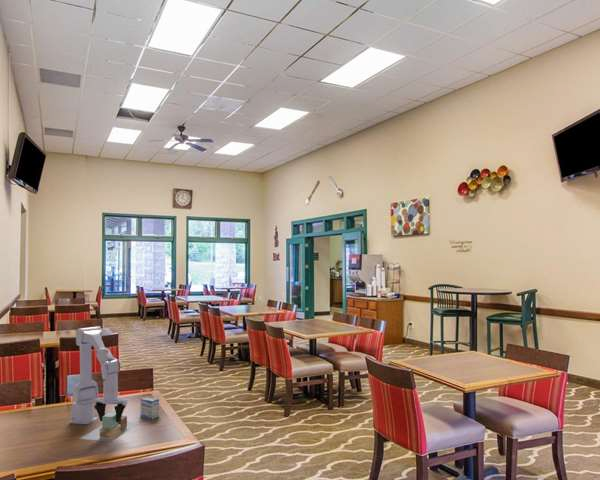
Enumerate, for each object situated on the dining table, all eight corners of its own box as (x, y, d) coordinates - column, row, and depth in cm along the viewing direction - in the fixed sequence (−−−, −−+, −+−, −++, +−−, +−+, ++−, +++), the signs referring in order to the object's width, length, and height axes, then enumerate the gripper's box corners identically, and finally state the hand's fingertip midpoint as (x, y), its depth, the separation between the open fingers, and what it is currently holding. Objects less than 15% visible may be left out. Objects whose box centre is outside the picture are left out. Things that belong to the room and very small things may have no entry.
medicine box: (140, 417, 220) (140, 399, 220) (147, 414, 223) (147, 396, 224) (152, 420, 216) (152, 401, 216) (159, 417, 220) (159, 398, 220)
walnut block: (111, 430, 202) (111, 419, 202) (117, 426, 206) (117, 415, 206) (121, 431, 201) (121, 419, 201) (126, 427, 206) (126, 416, 206)
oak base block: (99, 437, 195) (99, 428, 195) (108, 431, 201) (108, 423, 201) (112, 438, 194) (112, 429, 194) (120, 432, 199) (120, 424, 200)
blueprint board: (79, 439, 193) (79, 438, 193) (110, 421, 215) (110, 420, 215) (111, 442, 190) (111, 441, 190) (139, 423, 212) (139, 422, 212)
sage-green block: (102, 428, 195) (102, 416, 196) (108, 424, 200) (108, 412, 200) (111, 429, 195) (111, 417, 195) (118, 425, 199) (118, 413, 199)
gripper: (89, 390, 195) (89, 423, 195) (120, 392, 192) (120, 425, 192) (99, 386, 202) (99, 417, 202) (129, 387, 199) (129, 419, 199)
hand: (110, 421), depth 197 cm, fingers open, 7 cm apart
